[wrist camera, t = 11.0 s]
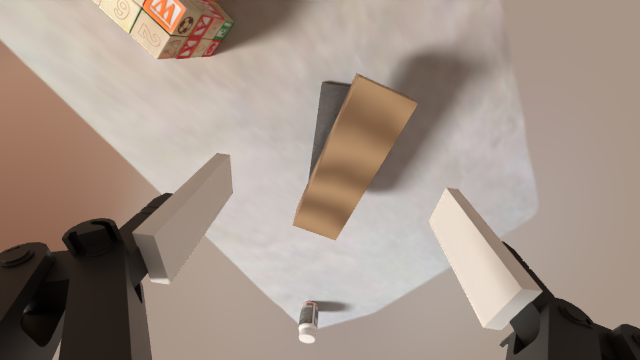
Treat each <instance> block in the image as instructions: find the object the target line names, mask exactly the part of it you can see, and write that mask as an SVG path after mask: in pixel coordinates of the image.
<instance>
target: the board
mask: <svg viewBox="0 0 640 360" xmlns="http://www.w3.org/2000/svg"><path fill="white" fill-rule="evenodd" d="M417 105H418V103H416V102H415V101H413V100H412V99H410V98H409V97H407V96H405V95H403V94H401V93H399V92H396V91H394V90H392V89H390V88H388V87H386V86H383V85H381V84H379V83H377V82H375V81H373V80H370V79H368V78H366V77H364V76H362V75H360V74H357V73H356V76H355V78H354V80H353V82H352V85H351V87H350V89H349V91H348V94H347V96H346V98H345V100H344V103H343V105H342V107H341V110H340V112H339V114H338V116H337V119H336V121H335V123H334V125H333V128H332V130H331V132H330V134H329V137H328V139H327V141H326V143H325V146H324V148H323V150H322V153H321V155H320V157H319V159H318V162H317V164H316V166H315V168H314V171H313V173H312V175H311V177H310V180H309V182H308V184H307V186H306V189H305V191H304V193H303V196H302V198H301V200H300V202H299V205H298V207H297V210H296V214H295V218H294V222H293V226H296V227H299V228H302V229H305V230H308V231H311V232H313V233H316V234H319V235H322V236H325V237H328V238H330V239H333V240H336V239H337V237H338V235H339V234H340V232H341V230H342V229H343V227H344V226H345V224H346V222H347V221H348V219H349V217H350V216H351V214H352V212H353V211H354V209H355V207H356V206H357V204H358V202H359V201H360V199H361V197H362V196H363V194H364V192H365V191H366V189H367V188H368V186H369V184H370V183H371V181H372V179H373V178H374V176H375V174H376V173H377V171H378V169H379V168H380V166H381V164H382V163H383V161H384V159H385V158H386V156H387V154H388V153H389V151H390V150H391V148H392V146H393V145H394V143H395V141H396V140H397V138H398V136H399V135H400V133H401V131H402V130H403V128H404V126H405V125H406V123H407V121H408V120H409V118H410V116H411V115H412V113H413V112H414V110H415V108H416V107H417Z"/></svg>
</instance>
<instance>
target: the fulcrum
mask: <svg viewBox="0 0 640 360" xmlns="http://www.w3.org/2000/svg"><path fill="white" fill-rule="evenodd" d="M349 89H350V87H348V86H341V85H335V84H329V83H323V82H322V86H321V93H320V101H319V108H318V115H317V123H316V130H315V138H314V145H313V152H312V160H311V167H310V175H309V180H310V177H311V175H312V173H313V171H314V168H315V166H316V164H317V162H318V159H319V157H320V155H321V153H322V150H323V148H324V146H325V143H326V141H327V139H328V137H329V134H330V132H331V130H332V128H333V125H334V123H335V121H336V119H337V116H338V114H339V112H340V110H341V107H342V105H343V103H344V100H345V98H346V96H347V94H348V91H349Z"/></svg>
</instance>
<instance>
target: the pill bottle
mask: <svg viewBox="0 0 640 360" xmlns="http://www.w3.org/2000/svg"><path fill="white" fill-rule="evenodd" d="M317 324H318V305H317V304H316V303H314V302H311V301H307V302H304V303H303V304H302V306H301V314H300V321H299V331H300V334H299V340H300V341H302V342H304V343H312V342H314V341H315V335H316V334H315V333H316V331H317Z"/></svg>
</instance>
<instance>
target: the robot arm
mask: <svg viewBox="0 0 640 360" xmlns="http://www.w3.org/2000/svg"><path fill="white" fill-rule="evenodd" d="M232 193H233V190H232V176H231V163H230V155H226V154H220V153H217V154H216V155H215V156H213V157H212V158H211V159H210V160H209V161H208V162H207V163H206V164H205V165H204V166H203V167H202V168H201V169H200V170H198V171H197V172H196V173H195V174H194V175H193V176H192V177H191V178H190V179H189V180H188V181H187V182H186V183H185V184H183V185H182V186H181V187H180V188H179V189H178V190H177V191H176V192H175V193H174V194H171V193H165V194H163V195H161V196H159V197H157V198H155V199H153V200H152V201H151V202H150V203H149V204H148V205H147V206H146V207H144V208H143V209H142V210H141V211H140V212H139V213H137V214H136V215H135V216H134V217H133V218H132V219H130V220H129V221H128V222H127V223H126V224H125V225H123V226H122V227H121V228H120V229H119V230H118V228H117V225H116V223H115V222H114V221H113V220H111V219H105V218H99V219H92V220H89V221H86V222H82V223H80V224H78V225H76V226H74V227H72V228H71V229H70V230H68V231H67V232H66V233H65V234H64V236H63V237H62V240H63V242H64V243H65V245H66V247H67V248H68V250H67V251H57V252H51V251H50V250H49V248H48V247H47V245H46V244H44V243H40V242H35V243H26V244H22V245H18V246H15V247H12V248H10V249H8V250H5V251H3V252H2V253H0V360H52V359H53V356H54V354H55V352H56V349H57V347H58V345H59V343H60V340H61V347H60V354H59V360H152V355H151V347H150V339H149V331H148V324H147V315H146V308H145V299H144V292H143V285H142V283H141V280H142V279H143V278H144V277H145V276H146V274H147V273H148V274H149V277H150V280H151V282H157V283H164V284H171V282H172V281H173V279H174V278H175V277H176V275H177V273H178V272H179V271H180V269H181V268H182V266H183V265H184V263H185V262H186V260H187V259H188V258H189V256H190V255H191V253H192V252H193V250H194V249H195V247H196V246H197V244H198V243H199V241H200V240H201V239H202V237H203V236H204V234H205V233H206V231H207V230H208V228H209V227H210V225H211V224H212V222H213V221H214V220H215V218H216V217H217V215H218V214H219V212H220V211H221V209H222V208H223V206H224V205H225V203H226V202H227V201H228V199H229V198H230V196H231V195H232ZM429 223H430V225H431V227H432V229H433V231H434V233H435V235H436V237H437V239H438V241H439V243H440V245H441V247H442V249H443V251H444V253H445V255H446V257H447V258H448V260H449V262H450V264H451V266H452V268H453V270H454V272H455V274H456V276H457V278H458V280H459V282H460V284H461V286H462V287H463V290H464V291H465V293H466V295H467V297H468V299H469V301H470V303H471V305H472V307H473V309H474V311H475V313H476V315H477V316H478V319H479V321H480V322H481V324H482V326H483V328H489V329H497V330H502V329H503V328H504V327H505V326H506V325H507V324H508V323H509V322H510V324H511V325H512V327H513V329H514V330H515V331H514V332H513V333H511V334H510V335H509V336H508V337H507V338H506V339H505V340H503V341H502V342H501V344H500V346H501V347H504V346H505V345H506V344H508V350H507V356H506V360H640V329H639V328H637V327H634V326H631V325H628V324H622V325H620V326H618V327H617V328H615V329H614V330H611V329H608V328H605V327H603V326H600V325H598V324H595V323H593V321H592V320H591V319H590V318H589V317H588V316H587V315H586V314H585V313H584V312H583V311H582V310H581V309H579V308H578V307H576V306H575V305H573V304H572V303H569V302H567V301H565V300H563V299H559V298H555V297H554V295H553V294H552V293H551V292H550V291H549V290H548V289H547V288H546V286H545V285H544V284H543V283H542V281H540V279H539V278H538V277H537V276H536V275H535V273H534V272H533V271H532V270H531V269H529V266H528V265H527V264H526V263H525V262H524V261H522V260H523V259H522V258H521V257H520V256H519V255H518V254H517V252H516V251H515V250H514V249H513V248H511V247H510V246H509V245H507V244H506V243H505V242H503V241H501V240H500V239H499V238H498V237H497V235H496V234H495V233H494V232H493V231H492V229H491V228H490V227H489V226H488V225H487V223H486V222H485V221H484V220H483V219H482V217H481V216H480V215H479V214H478V213H477V211H476V210H475V209H474V208H473V207H472V205H471V204H470V203H469V202H468V200H467V199H466V198H465V197H464V196H463V194H462V193H461V192H460V191H459V190H458V189H452V188H446V189H445V191H444V193H443V194H442V196H441V198H440V200H439V202H438V204H437V206H436V208H435V210H434V212H433V214H432V216H431V218H430V220H429ZM61 338H62V339H61Z"/></svg>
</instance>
